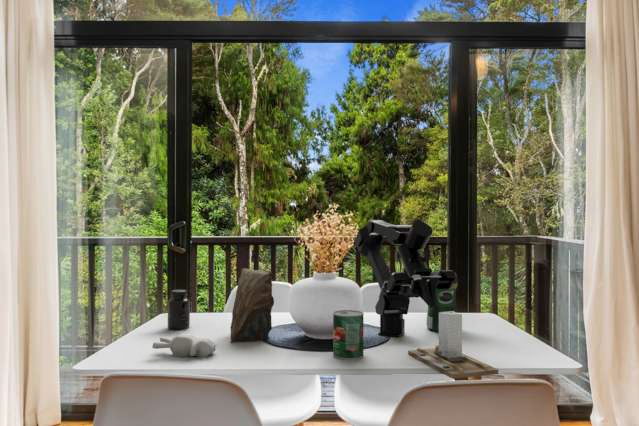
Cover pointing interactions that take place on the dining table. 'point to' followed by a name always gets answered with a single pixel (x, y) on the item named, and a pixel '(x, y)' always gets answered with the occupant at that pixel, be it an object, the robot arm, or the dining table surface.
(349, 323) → the canned tomato
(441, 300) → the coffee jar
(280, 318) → the dining table surface
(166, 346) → the bunny figurine
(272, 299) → the tall brown stone
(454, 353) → the grey rectangular block
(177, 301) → the supplement bottle
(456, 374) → the trammel board
